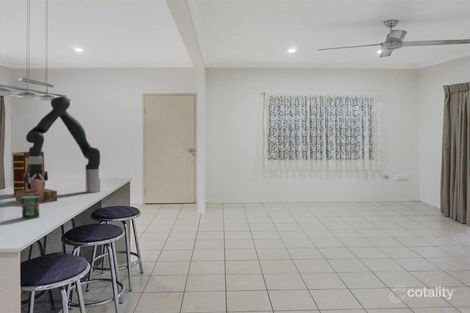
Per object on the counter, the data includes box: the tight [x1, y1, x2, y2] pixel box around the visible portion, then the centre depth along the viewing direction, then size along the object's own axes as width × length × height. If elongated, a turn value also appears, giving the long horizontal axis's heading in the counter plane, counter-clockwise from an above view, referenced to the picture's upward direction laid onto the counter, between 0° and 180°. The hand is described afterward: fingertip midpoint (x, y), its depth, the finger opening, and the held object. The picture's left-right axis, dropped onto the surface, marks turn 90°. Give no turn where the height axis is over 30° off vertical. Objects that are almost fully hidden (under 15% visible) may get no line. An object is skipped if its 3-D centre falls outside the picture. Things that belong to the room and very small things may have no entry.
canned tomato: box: [21, 196, 40, 220], centre depth 188 cm, size 8×8×11 cm
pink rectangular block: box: [29, 179, 44, 200], centre depth 231 cm, size 4×11×12 cm, turn 56°
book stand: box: [15, 188, 58, 204], centre depth 231 cm, size 16×20×6 cm
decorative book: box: [11, 151, 46, 198], centre depth 253 cm, size 22×8×30 cm, turn 168°
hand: (36, 188), depth 231 cm, fingers open, 8 cm apart
